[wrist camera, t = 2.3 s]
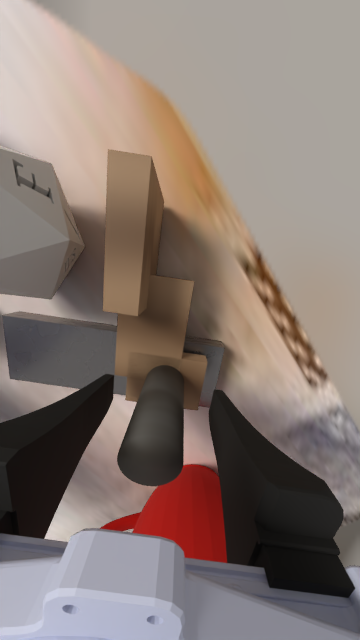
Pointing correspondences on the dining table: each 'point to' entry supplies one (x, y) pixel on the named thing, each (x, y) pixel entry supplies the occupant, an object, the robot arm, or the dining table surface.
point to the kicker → (147, 324)
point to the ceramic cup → (184, 514)
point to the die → (34, 227)
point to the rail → (82, 352)
